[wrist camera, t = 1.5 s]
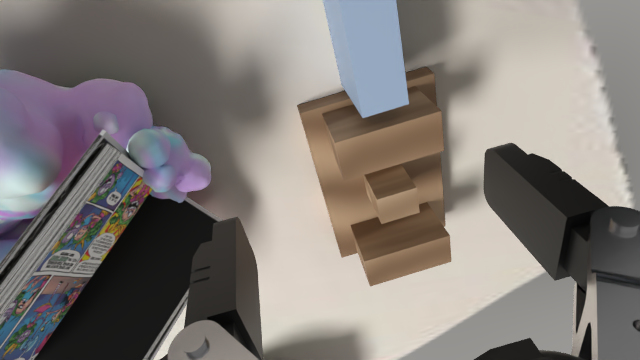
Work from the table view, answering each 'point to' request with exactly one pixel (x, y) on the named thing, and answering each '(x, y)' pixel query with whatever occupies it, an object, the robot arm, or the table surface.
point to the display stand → (383, 179)
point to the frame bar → (368, 53)
